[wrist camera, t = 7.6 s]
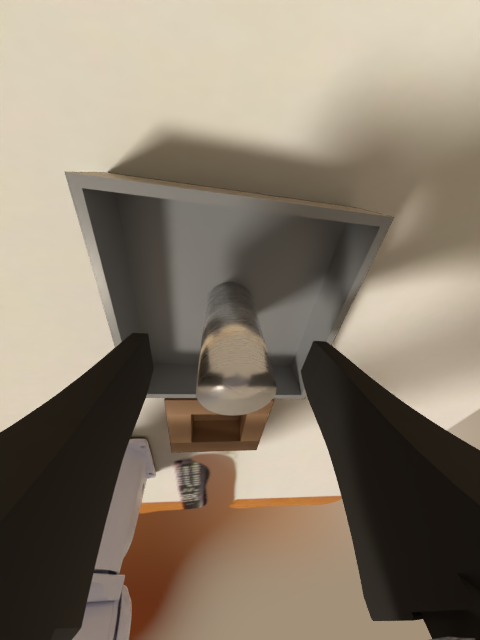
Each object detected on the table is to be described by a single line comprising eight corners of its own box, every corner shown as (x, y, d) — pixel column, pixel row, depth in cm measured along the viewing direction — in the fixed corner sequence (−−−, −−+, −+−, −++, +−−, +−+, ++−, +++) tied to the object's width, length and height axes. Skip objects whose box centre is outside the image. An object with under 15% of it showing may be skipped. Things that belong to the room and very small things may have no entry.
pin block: (253, 424, 22) (256, 450, 20) (176, 425, 21) (171, 452, 19) (267, 374, 18) (273, 400, 16) (171, 372, 17) (164, 400, 15)
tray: (293, 367, 18) (305, 398, 15) (143, 363, 16) (129, 397, 13) (354, 207, 11) (394, 217, 8) (105, 172, 9) (64, 171, 7)
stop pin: (250, 324, 14) (268, 415, 9) (205, 322, 14) (195, 416, 8) (257, 283, 12) (285, 365, 7) (206, 280, 12) (196, 363, 7)
